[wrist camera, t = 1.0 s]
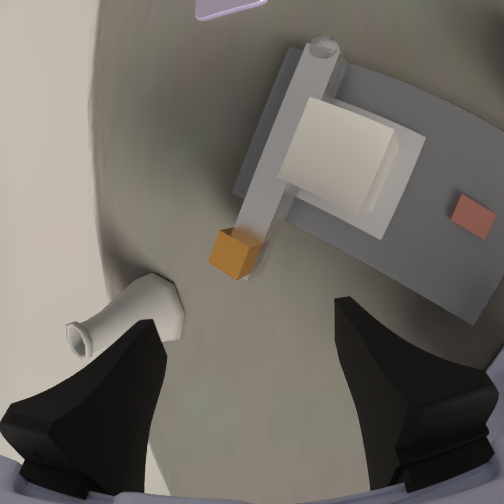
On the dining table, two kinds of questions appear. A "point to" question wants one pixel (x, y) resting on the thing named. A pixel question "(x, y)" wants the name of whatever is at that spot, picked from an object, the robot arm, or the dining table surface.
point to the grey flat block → (416, 193)
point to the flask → (130, 316)
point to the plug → (351, 163)
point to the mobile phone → (222, 7)
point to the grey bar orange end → (278, 165)
